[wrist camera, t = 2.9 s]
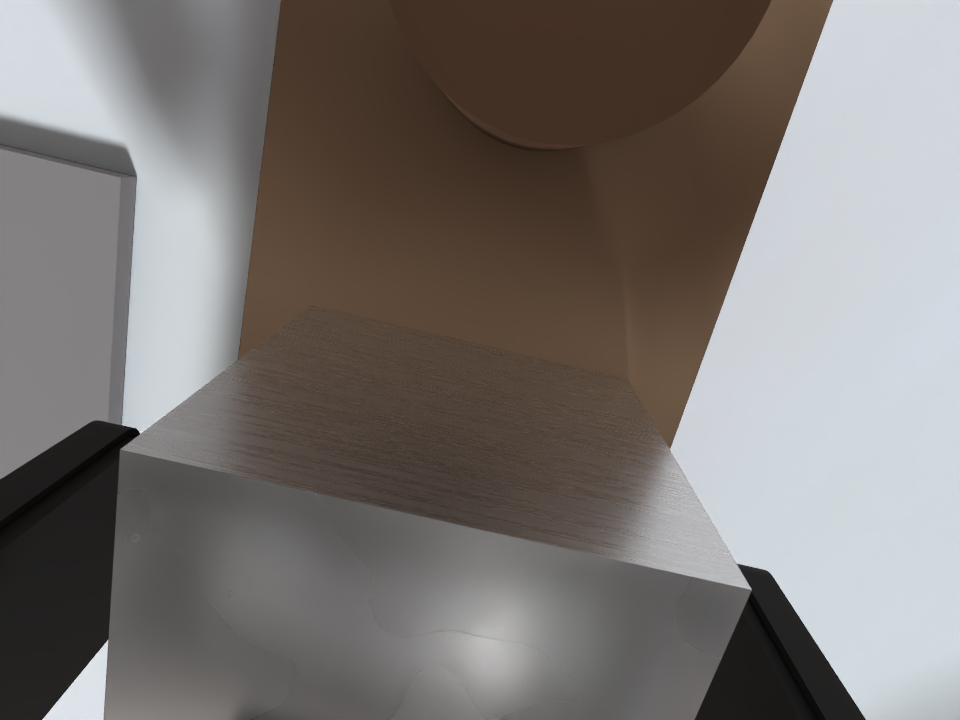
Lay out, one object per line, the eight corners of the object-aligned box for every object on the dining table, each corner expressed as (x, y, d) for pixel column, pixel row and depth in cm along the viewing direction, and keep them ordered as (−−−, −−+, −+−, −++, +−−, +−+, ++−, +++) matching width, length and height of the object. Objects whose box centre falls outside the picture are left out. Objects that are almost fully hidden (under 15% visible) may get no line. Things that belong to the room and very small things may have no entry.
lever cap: (517, 717, 12) (530, 1177, 6) (256, 663, 12) (47, 1090, 6) (628, 379, 10) (784, 645, 4) (311, 304, 9) (68, 487, 4)
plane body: (491, 746, 19) (483, 1248, 10) (259, 697, 18) (47, 1171, 10) (725, 10, 13) (1212, -318, 4) (383, -79, 12) (111, -638, 4)
